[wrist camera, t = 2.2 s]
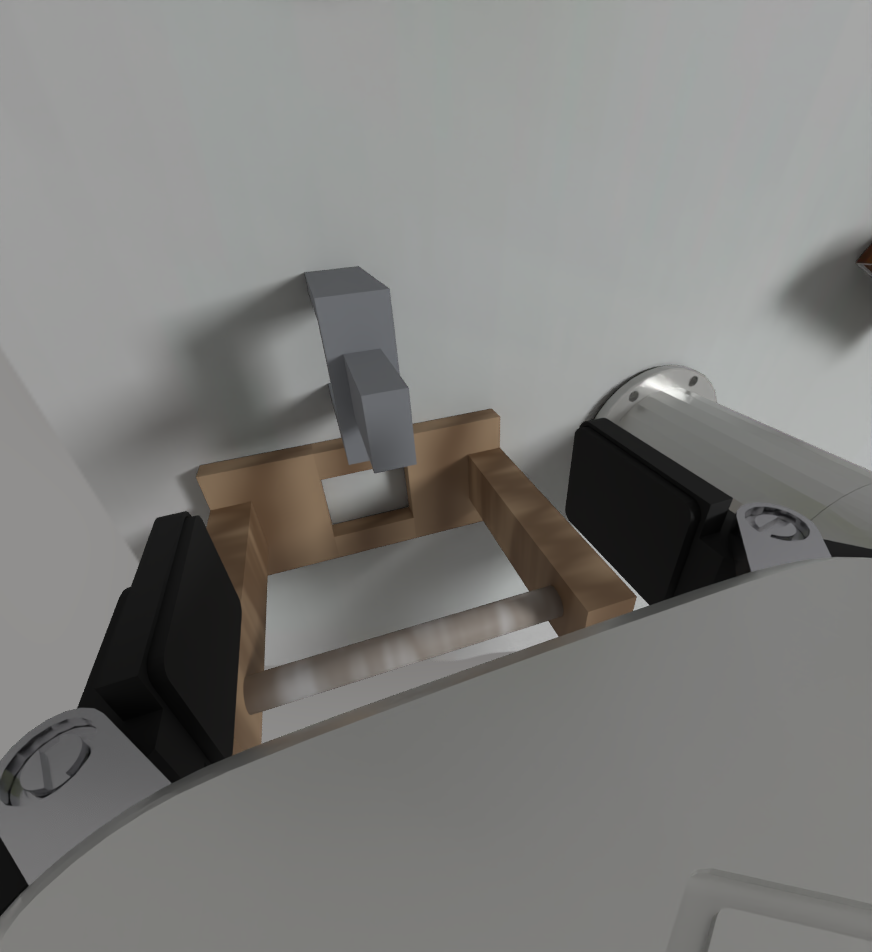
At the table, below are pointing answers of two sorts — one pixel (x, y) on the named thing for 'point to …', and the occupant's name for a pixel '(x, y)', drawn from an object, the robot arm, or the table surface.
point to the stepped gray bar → (363, 367)
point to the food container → (866, 261)
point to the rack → (430, 511)
